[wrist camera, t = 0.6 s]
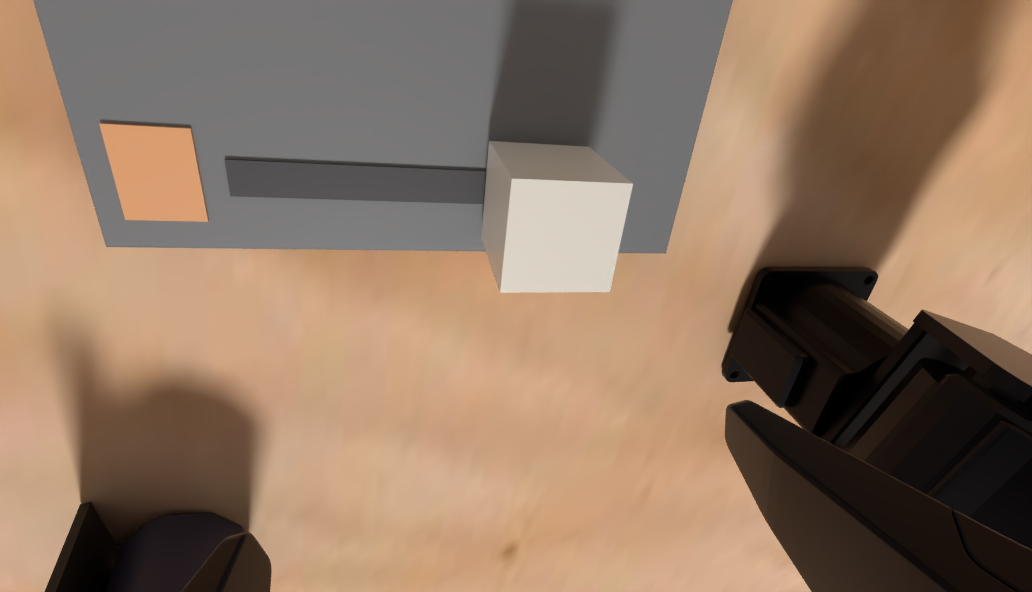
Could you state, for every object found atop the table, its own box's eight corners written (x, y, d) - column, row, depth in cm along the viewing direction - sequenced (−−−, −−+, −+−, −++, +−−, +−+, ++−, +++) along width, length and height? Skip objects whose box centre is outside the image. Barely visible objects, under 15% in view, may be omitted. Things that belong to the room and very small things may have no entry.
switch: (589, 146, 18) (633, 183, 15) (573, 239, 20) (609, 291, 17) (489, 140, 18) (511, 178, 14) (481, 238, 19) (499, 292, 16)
